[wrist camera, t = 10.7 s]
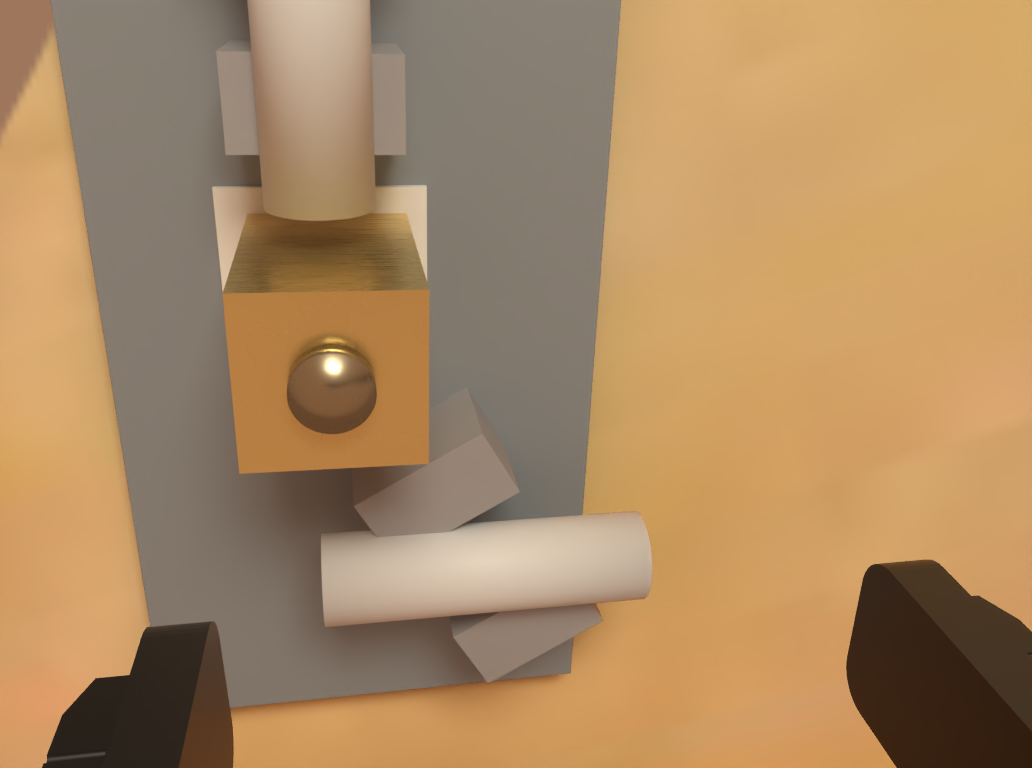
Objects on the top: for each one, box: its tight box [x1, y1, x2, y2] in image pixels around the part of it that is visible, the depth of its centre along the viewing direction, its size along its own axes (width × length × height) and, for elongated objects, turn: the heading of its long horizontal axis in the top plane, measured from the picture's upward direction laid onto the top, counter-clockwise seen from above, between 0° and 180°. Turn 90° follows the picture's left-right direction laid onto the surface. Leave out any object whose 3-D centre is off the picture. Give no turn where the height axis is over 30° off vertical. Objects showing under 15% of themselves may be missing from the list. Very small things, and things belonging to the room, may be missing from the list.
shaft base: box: [50, 0, 652, 708], centre depth 27 cm, size 16×30×6 cm, turn 178°
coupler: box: [222, 213, 429, 474], centre depth 24 cm, size 4×4×8 cm
